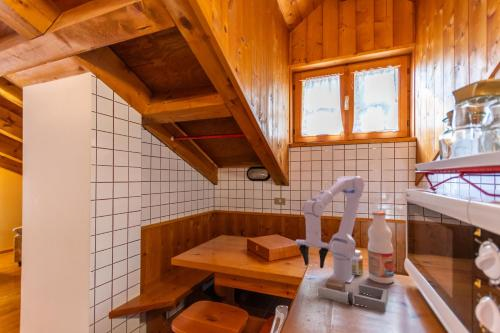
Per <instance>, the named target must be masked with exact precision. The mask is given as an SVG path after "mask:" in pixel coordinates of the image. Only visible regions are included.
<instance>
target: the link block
mask: <svg viewBox="0 0 500 333" xmlns="http://www.w3.org/2000/svg"><path fill="white" fill-rule="evenodd" d="M325 288H328V289H333V290H337V291H341V292H346V282H344V281H339V280H334V279H331V278H328V279H327V280H326V281H325Z"/></svg>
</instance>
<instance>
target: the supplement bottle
mask: <svg viewBox="0 0 500 333" xmlns="http://www.w3.org/2000/svg"><path fill="white" fill-rule="evenodd" d="M361 253H362V251H361V250H359V249H355V255H354V256H353V258H351V259H352V274H355V276H362V275H364V261H363V260H364V259H363V256H362V255H361Z"/></svg>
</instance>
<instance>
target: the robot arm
mask: <svg viewBox="0 0 500 333" xmlns="http://www.w3.org/2000/svg"><path fill="white" fill-rule="evenodd" d="M364 188H365V182H364V179H363V178H362V176H360V175H357V176H345V175H343V176H342V175H341V176H339V177H337V178H336V182H334V183H333V184H332V186H330V187H329V188H328V189H326V190H325V189H323V190H320V191H319V193H318V194H316V195H315V196H313V197H312V199H309V200H308V199H307V200H306V201H305V202H304V203H303V205H302V207H301V209H302V212H303V214H304V218H305V239H296V240H295V246H299V248H298V249H299V252H300V254H301V256H302V258H303V261H304V266H308V265H309V262H310V261H309V260H310V259H309V250H310V248H315V249H319V250H318V254H319V268H320V269H324V267H325V260H326V258H327V254H328V253H331V256H332V265H333V266H332V268H333V272H332V273H333V274H332V276H330V279H334V280H339V281H344V282H345V283H349V284H350V283H351V282H352V281H353V279H354V278H355V276H356V275H355V274H352V259H351V258H353V256H354V255H355V250H356V243H357V242H356V241H355V239H354V238H353V237H352V235H353V230H354V225H355V222H356V217H357V214H358V209H359V207H360V201H361V199H362V198H361V197H362V195H363V192H364ZM339 193H342V195H343V196H344V197H346V202H345V204H344V205H345V206H344V209H343V212H342V218H341V221H340V225H339V228H338V232H336V233H335V234H333V235H332V236H331V239H330V241H329V242H324V241H322V231H321V230H322V225H321V224H322V223H321V220H322V219H321V218H322V215H323V214H324V211H325V209H326V207H327V206H329V205H330V204H331V203H332V202H333V200H334V197H335V196H336V195H338V194H339Z"/></svg>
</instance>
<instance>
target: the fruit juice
mask: <svg viewBox="0 0 500 333" xmlns="http://www.w3.org/2000/svg"><path fill="white" fill-rule="evenodd" d="M386 214H387V213H386V212H385V211H374V210H373V211H372V217H373V220H372V223H371V225H370V226H369V228H368V229H367V237H368V242H367V258H368V259H367V260H368V262H367V263H368V266H367V267H368V278H369V279H370V280H371V281H373V282H376V283H379V284H393V283H394V281H395V273H394V272H395V270H394V267H395V266H394V265H395V264H394V247H393V246H394V245H393V243H392V238H393V233H392V230H391V229H390V227H389V226H388V224H387V220H386Z"/></svg>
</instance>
